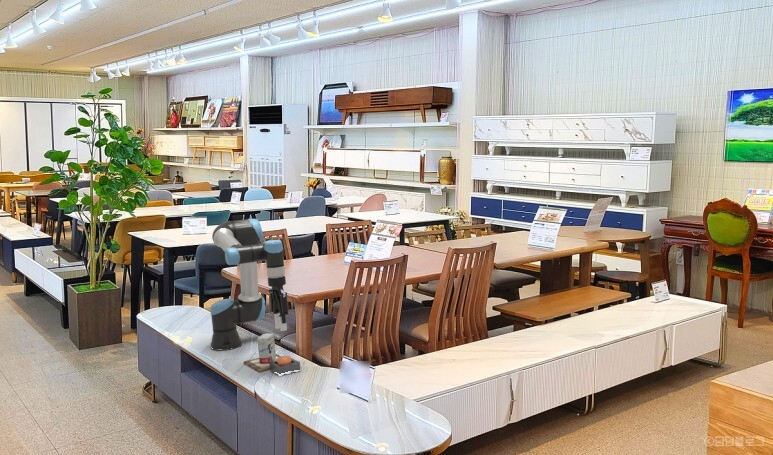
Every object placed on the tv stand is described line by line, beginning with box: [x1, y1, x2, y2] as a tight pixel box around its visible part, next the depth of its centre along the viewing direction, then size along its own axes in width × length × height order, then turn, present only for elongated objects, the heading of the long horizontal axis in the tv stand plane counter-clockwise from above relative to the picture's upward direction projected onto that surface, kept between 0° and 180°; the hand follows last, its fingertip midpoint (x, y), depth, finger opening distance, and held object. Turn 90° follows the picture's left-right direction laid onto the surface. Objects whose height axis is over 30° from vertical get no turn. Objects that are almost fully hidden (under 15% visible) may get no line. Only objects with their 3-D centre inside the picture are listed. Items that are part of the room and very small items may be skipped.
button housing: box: [269, 357, 301, 374], centre depth 297 cm, size 10×10×4 cm
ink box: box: [257, 333, 277, 364], centre depth 309 cm, size 9×5×12 cm, turn 167°
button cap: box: [277, 355, 292, 366], centre depth 297 cm, size 6×6×4 cm
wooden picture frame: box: [243, 353, 282, 373], centre depth 310 cm, size 18×16×1 cm
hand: (281, 329), depth 295 cm, fingers open, 4 cm apart
